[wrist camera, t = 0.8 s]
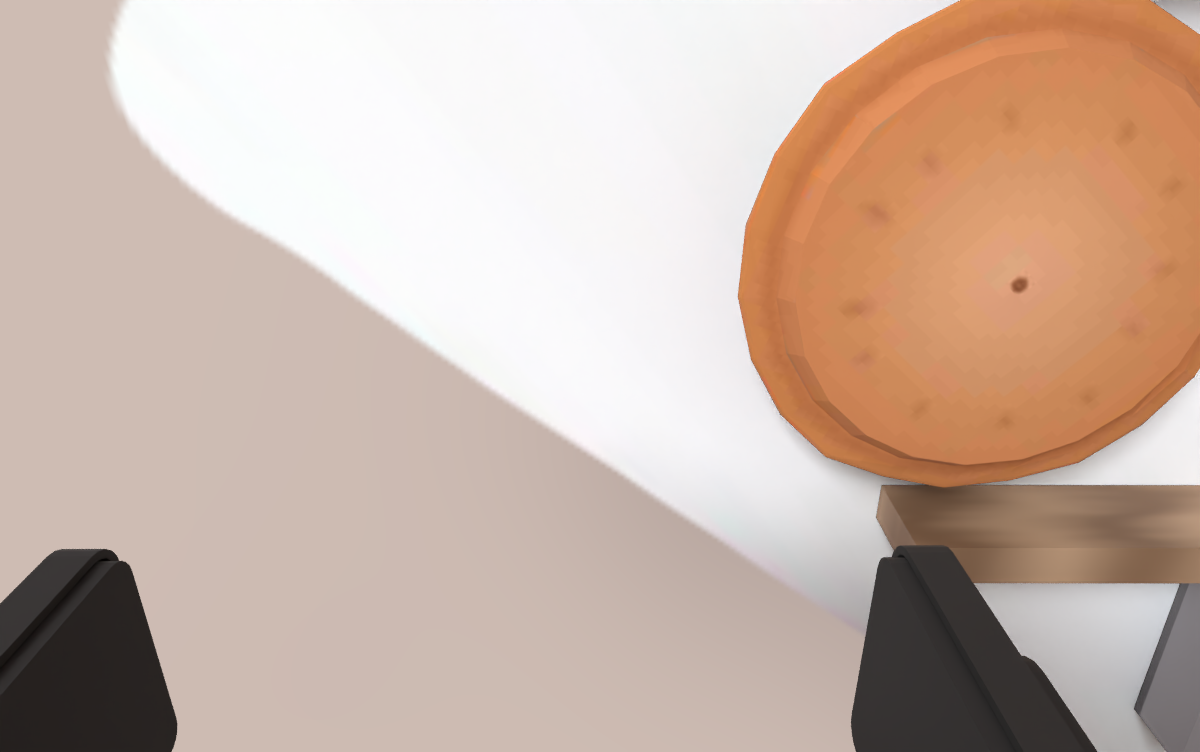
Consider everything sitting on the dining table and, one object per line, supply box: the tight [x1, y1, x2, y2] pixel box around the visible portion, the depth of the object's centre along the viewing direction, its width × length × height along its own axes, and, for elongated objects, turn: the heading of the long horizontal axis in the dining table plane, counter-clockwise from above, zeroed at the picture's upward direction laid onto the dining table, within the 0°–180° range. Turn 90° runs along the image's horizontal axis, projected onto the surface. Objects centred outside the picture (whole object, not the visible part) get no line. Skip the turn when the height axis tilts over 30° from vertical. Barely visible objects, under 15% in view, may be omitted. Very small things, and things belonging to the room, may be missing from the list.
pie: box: [738, 0, 1200, 488], centre depth 25 cm, size 15×16×5 cm
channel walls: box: [876, 485, 1200, 583], centre depth 25 cm, size 16×22×4 cm
